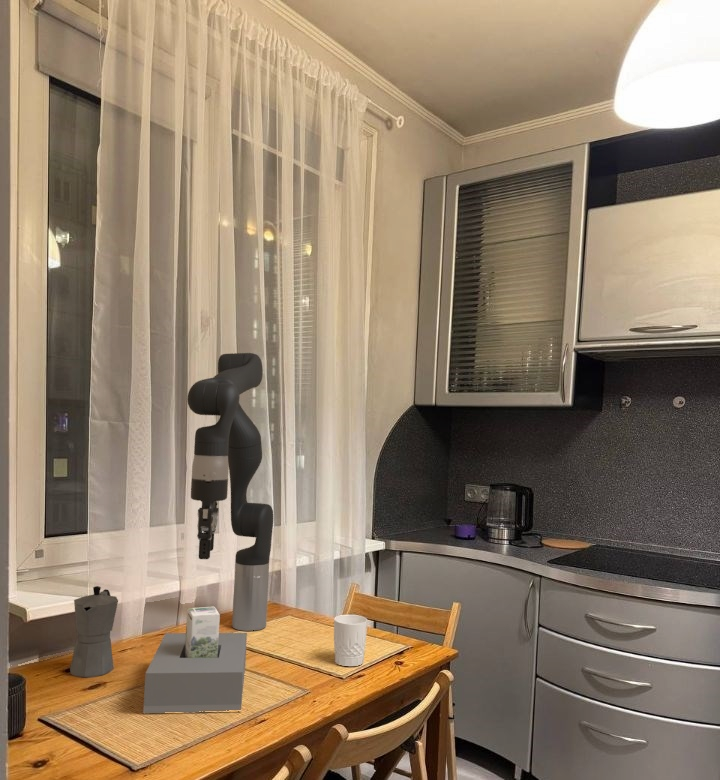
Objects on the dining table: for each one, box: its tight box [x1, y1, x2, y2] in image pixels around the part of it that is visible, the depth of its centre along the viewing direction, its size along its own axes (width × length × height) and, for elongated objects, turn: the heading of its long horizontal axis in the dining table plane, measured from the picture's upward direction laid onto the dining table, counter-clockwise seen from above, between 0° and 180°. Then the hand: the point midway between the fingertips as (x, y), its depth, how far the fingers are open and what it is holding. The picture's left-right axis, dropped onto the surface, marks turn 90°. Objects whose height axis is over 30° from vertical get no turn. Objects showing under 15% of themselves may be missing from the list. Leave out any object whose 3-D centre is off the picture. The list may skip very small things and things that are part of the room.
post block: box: [142, 632, 248, 714], centre depth 135 cm, size 24×18×8 cm
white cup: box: [333, 614, 368, 667], centre depth 154 cm, size 8×8×10 cm
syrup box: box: [184, 606, 221, 658], centre depth 136 cm, size 6×6×14 cm
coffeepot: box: [69, 585, 119, 678], centre depth 144 cm, size 15×9×18 cm, turn 5°
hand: (206, 554), depth 137 cm, fingers open, 8 cm apart
